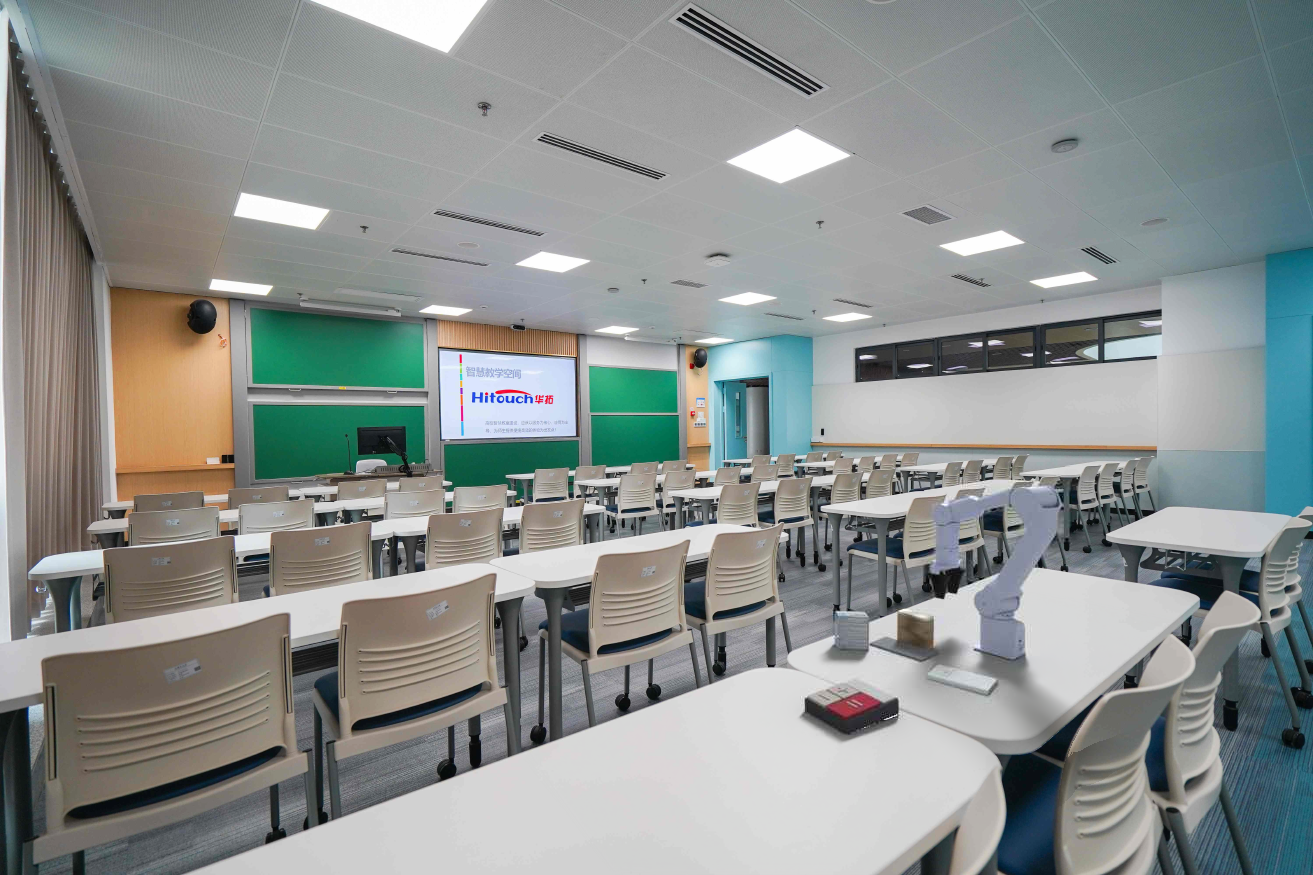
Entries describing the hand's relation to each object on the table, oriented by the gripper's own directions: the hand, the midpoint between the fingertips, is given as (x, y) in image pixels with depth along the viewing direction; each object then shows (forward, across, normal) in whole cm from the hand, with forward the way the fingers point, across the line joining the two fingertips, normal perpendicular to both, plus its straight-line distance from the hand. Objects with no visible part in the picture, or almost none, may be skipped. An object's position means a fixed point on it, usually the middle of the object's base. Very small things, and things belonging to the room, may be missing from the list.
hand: (946, 595), depth 165 cm
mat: (+10, +22, -1) cm, 24 cm away
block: (+10, +16, -1) cm, 19 cm away
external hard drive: (+11, +29, +17) cm, 35 cm away
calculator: (+11, +62, +10) cm, 63 cm away
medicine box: (+10, +30, -10) cm, 34 cm away
